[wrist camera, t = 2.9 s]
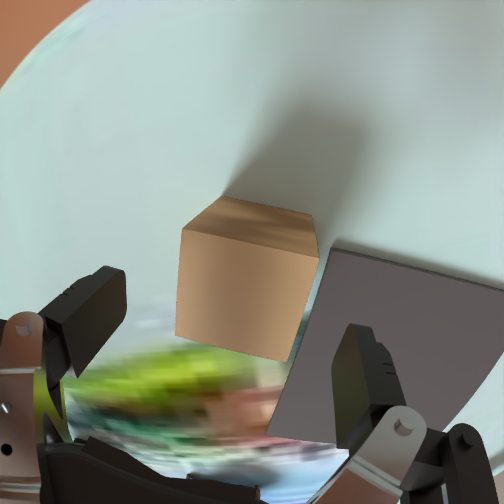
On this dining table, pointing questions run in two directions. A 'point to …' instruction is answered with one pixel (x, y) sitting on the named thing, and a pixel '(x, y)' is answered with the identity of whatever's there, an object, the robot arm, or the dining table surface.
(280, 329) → the oak block
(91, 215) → the dining table surface
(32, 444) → the robot arm
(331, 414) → the charcoal mat
